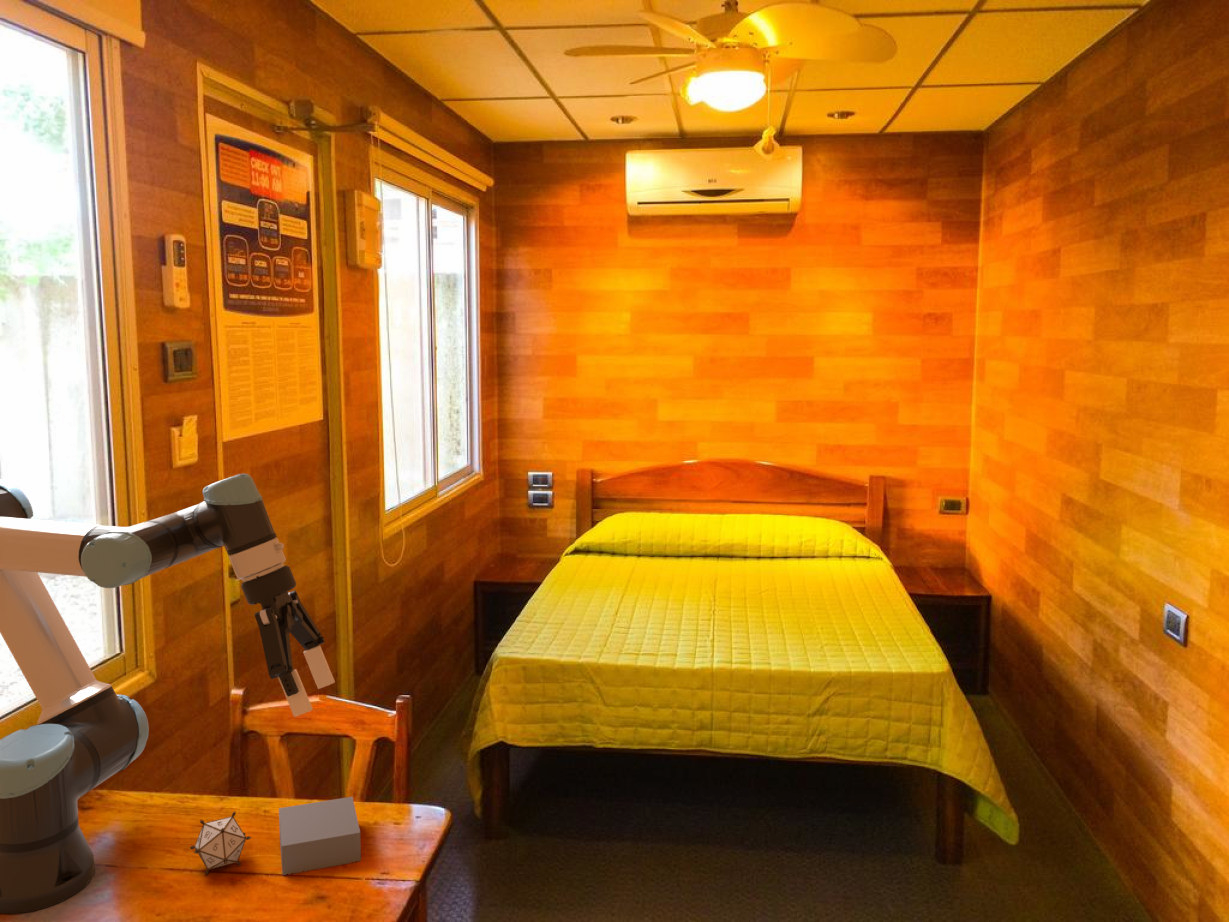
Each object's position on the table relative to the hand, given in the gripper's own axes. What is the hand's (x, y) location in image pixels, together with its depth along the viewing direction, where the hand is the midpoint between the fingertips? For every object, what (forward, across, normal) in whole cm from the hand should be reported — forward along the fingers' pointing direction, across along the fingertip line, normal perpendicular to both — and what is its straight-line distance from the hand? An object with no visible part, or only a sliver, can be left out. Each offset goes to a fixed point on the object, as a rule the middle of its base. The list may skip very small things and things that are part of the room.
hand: (315, 698), depth 145 cm
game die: (+21, +3, +25) cm, 33 cm away
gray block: (+25, +8, +12) cm, 29 cm away
